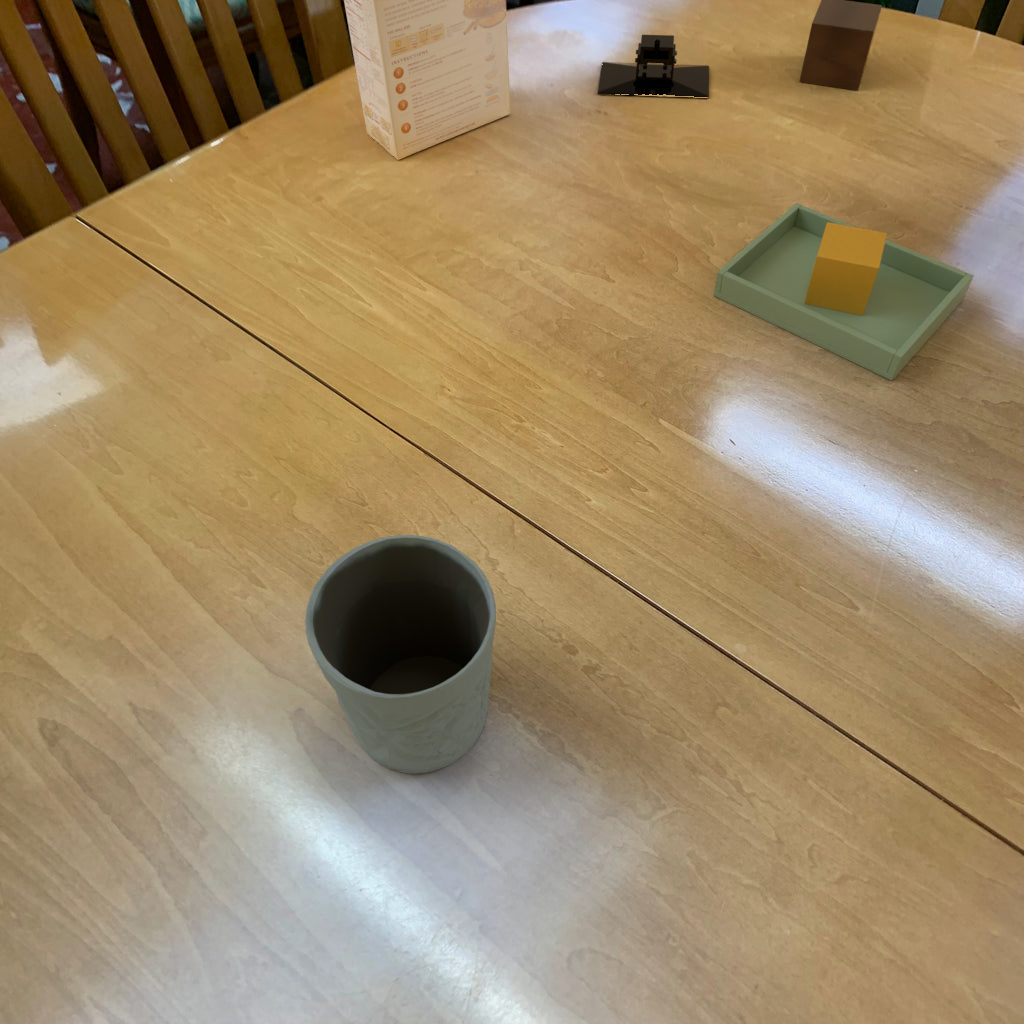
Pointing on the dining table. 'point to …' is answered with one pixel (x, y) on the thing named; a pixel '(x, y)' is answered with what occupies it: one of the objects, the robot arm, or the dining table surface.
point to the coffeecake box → (429, 68)
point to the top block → (845, 268)
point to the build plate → (654, 72)
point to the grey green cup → (406, 648)
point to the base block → (840, 43)
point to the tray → (860, 339)
